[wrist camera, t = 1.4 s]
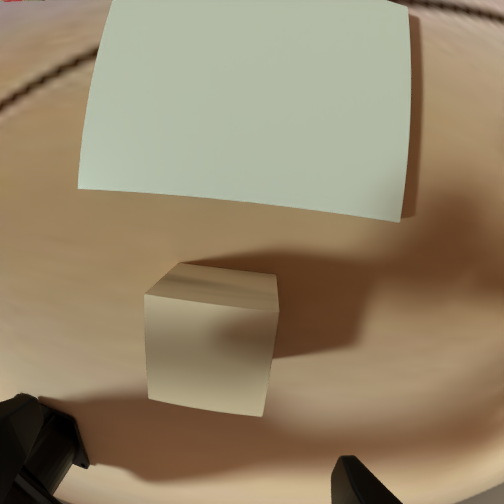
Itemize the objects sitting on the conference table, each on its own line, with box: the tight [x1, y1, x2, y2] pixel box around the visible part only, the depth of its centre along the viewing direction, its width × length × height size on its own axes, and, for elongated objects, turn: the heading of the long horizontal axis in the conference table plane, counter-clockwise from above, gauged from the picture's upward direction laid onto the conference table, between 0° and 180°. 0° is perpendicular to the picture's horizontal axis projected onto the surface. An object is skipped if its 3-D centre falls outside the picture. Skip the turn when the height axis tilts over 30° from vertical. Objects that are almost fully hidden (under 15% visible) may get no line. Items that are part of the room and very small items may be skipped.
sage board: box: [78, 0, 411, 223], centre depth 14 cm, size 12×16×1 cm
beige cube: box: [144, 263, 279, 417], centre depth 14 cm, size 5×5×5 cm
